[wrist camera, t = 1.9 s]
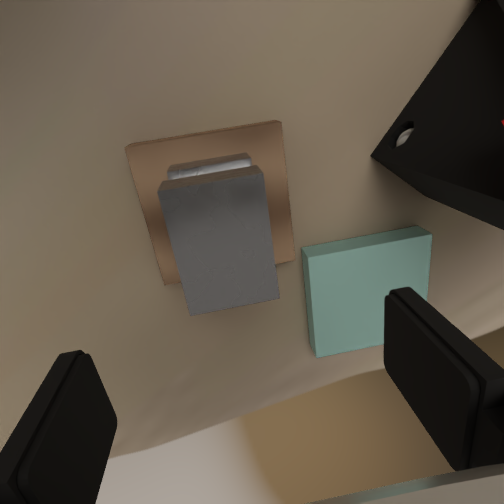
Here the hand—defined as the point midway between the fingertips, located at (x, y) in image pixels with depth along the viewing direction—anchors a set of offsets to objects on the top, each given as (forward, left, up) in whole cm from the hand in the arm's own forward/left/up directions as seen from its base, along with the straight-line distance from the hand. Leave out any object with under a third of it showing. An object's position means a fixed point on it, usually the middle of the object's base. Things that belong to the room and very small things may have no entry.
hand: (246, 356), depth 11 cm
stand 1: (0, 0, -17) cm, 17 cm away
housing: (0, 0, -15) cm, 15 cm away
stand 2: (+10, +11, -17) cm, 22 cm away
